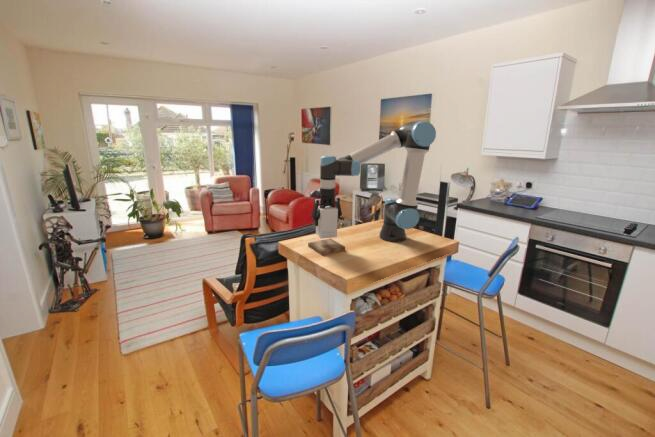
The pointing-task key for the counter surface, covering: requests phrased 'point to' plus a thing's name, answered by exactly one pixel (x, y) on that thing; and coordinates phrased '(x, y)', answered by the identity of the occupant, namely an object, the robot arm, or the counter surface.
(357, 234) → the counter surface
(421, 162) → the robot arm
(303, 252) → the counter surface
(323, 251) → the walnut stand
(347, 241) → the counter surface
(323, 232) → the supplement box
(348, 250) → the counter surface
